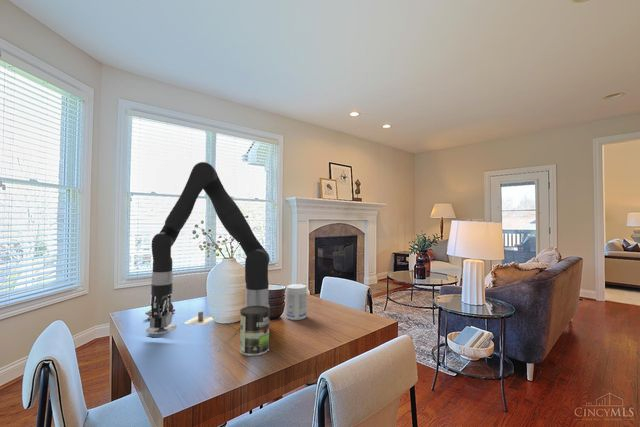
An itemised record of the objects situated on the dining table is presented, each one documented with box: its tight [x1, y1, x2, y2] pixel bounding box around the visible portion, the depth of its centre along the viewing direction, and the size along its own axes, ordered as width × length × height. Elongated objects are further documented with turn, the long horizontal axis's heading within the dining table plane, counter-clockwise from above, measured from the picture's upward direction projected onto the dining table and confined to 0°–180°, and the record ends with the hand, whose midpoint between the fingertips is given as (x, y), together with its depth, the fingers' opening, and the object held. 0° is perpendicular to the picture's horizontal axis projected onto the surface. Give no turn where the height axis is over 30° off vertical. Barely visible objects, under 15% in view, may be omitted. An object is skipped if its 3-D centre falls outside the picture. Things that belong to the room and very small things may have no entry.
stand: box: [183, 311, 215, 326], centre depth 133 cm, size 10×10×5 cm
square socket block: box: [149, 312, 173, 328], centre depth 121 cm, size 6×6×4 cm
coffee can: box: [239, 306, 271, 357], centre depth 108 cm, size 10×10×14 cm
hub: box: [145, 323, 178, 339], centre depth 122 cm, size 11×11×5 cm
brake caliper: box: [144, 300, 176, 320], centre depth 140 cm, size 11×11×12 cm
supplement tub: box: [285, 283, 308, 321], centre depth 143 cm, size 10×10×15 cm
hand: (161, 324), depth 121 cm, fingers closed on square socket block, 6 cm apart
